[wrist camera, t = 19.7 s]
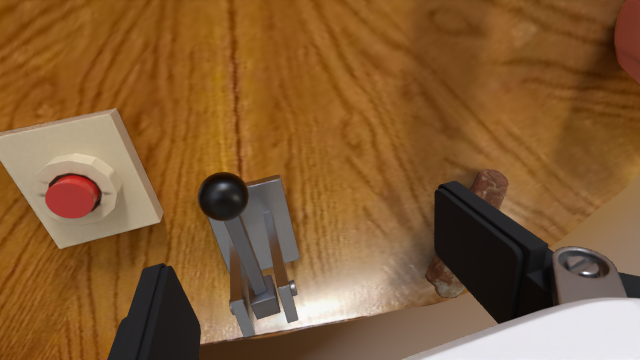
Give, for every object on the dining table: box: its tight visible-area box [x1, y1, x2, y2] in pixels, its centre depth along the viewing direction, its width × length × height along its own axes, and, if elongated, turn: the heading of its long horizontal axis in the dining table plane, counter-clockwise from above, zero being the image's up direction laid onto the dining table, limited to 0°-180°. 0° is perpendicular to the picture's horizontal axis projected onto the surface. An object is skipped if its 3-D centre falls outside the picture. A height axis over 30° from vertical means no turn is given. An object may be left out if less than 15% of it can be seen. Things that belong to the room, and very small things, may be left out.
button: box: [45, 175, 99, 219], centre depth 30 cm, size 4×4×2 cm
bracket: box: [208, 175, 300, 338], centre depth 35 cm, size 12×9×14 cm
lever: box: [198, 172, 281, 320], centre depth 26 cm, size 16×3×3 cm, turn 10°
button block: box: [0, 108, 163, 249], centre depth 32 cm, size 12×10×4 cm
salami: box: [425, 169, 508, 298], centre depth 47 cm, size 6×19×6 cm, turn 161°
